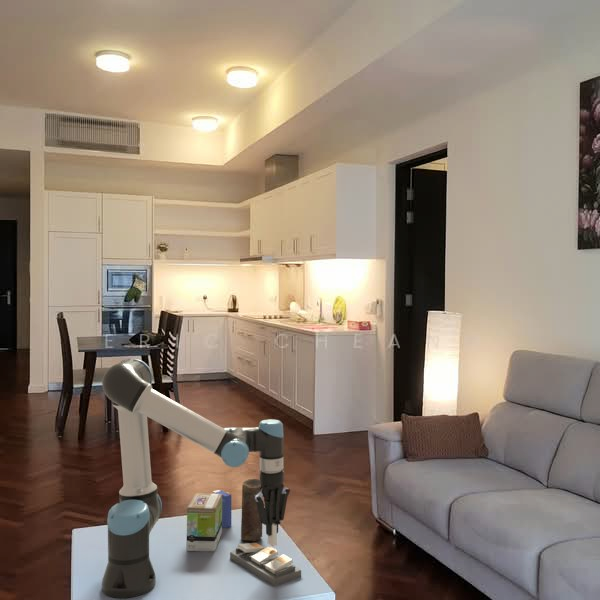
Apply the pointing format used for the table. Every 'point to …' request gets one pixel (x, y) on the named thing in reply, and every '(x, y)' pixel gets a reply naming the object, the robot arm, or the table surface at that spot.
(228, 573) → the table surface
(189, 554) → the table surface
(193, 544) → the tea box
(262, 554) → the rocker middle
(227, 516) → the walkman
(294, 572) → the rocker switch panel
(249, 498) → the brown weathered cylinder
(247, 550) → the rocker far
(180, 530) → the table surface
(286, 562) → the rocker near
